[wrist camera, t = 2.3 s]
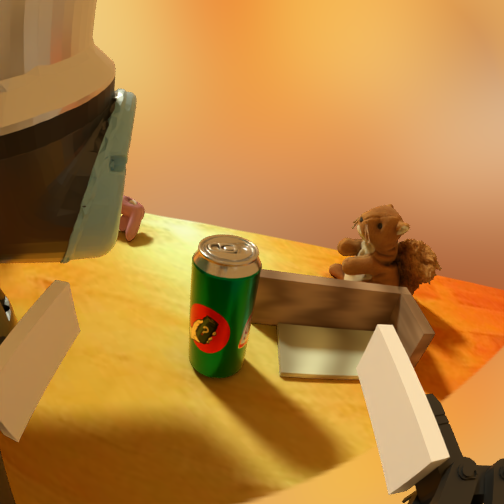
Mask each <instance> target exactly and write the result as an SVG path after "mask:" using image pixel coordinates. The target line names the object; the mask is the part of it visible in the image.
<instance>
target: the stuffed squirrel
mask: <svg viewBox="0 0 504 504" xmlns="http://www.w3.org/2000/svg"><path fill="white" fill-rule="evenodd" d="M357 220H358V221H357ZM356 221H357V222H356ZM355 222H356V223H355ZM353 223H355V224H354V226H355V225H356V224H357V223H358V226H357V230H358V233H359V234H360V236H361V237H362V239H351V238H344V239H343V240H341V241H340V242H339V243H338V246H337V249H338V252H339V253H340V254H341V255H343V256H354V257H348V258H346V259H345V260H343V263H342V265H341V264H333V265H331V266H330V268H329V272H330V274H332V275H333V276H334V277H336V278H337V279H341V280H349V281H357V282H366V283H374V284H382V285H391V286H399V287H407V289H408V290H409V292H410V293H411V295H413V294H414V291H415V290H416V289H417V288H419V284H422V283H427V282H428V283H429V284H430V281H431V280H433V278H434V276H436V274H435V270H436V269H439V270H441V268H440V265H439V264H438V262H437V258H436V255H435V253H434V252H433V251H432V250H431V248H430V247H429V246H428V245H426V244H424V242H423V241H416V240H415V239H413V240H412V239H406V240H405V241H402V242H399V243H398V239H399V238H400V237H401V235H403V234H404V233H406V232H407V231H408V230H409V228H410V227H409V224H407V223H404V222H403V220H402V218H401V216H400V215H399V214H398V213H397V212H396V210H395V209H394V208H393V205H391V204H389V205H384V206H379V207H376V208H373V209H371V210H369V211H367V212H365V213H363V214H362V215H361V216H360V217H358V218H357V219H356V220H355V221H354V222H353ZM354 226H353V227H352V229H353V228H354Z"/></svg>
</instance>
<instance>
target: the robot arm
mask: <svg viewBox="0 0 504 504" xmlns="http://www.w3.org/2000/svg"><path fill="white" fill-rule="evenodd" d="M96 2H97V0H0V263H36V262H60V263H67V262H69V261H70V260H75V259H85V258H95V257H101V256H103V255H105V254H107V253H108V252H109V251H110V250H111V249H112V248H113V247H114V245H115V243H116V240H117V237H118V232H119V225H120V218H121V209H122V201H123V192H124V184H125V175H126V163H127V159H128V152H129V147H130V141H131V135H132V129H133V123H134V116H135V109H136V96H135V95H134V94H133V93H131V92H126V91H125V90H124V89H118V90H116V91H114V84H115V64H114V62H113V61H112V60H111V59H110V58H109V57H108V56H107V55H106V54H105V53H104V52H102V51H101V50H100V49H99V48H98V47H97V46H96V45H95V44H94V42H93V38H92V36H93V26H94V17H95V9H96ZM79 332H80V328H79V325H78V321H77V316H76V312H75V308H74V304H73V299H72V294H71V289H70V284H69V283H68V282H63V281H59V280H55V281H54V282H53V283H52V284H51V285H50V286H49V287H48V289H47V290H46V291H45V292H44V293H43V294H42V295H41V296H40V298H39V299H38V300H37V301H36V302H35V303H34V304H33V306H32V307H31V308H30V309H29V310H28V311H27V313H26V314H25V315H24V316H23V317H22V319H21V320H20V321H19V322H17V319H16V316H15V314H14V311H13V308H12V306H11V304H10V302H9V300H8V298H7V297H6V296H5V294H4V293H3V292H2V290H1V289H0V431H1V432H2V433H3V434H4V435H6V436H7V437H9V438H11V439H13V440H15V441H16V442H19V440H20V438H21V436H22V434H23V432H24V430H25V428H26V426H27V424H28V422H29V420H30V418H31V416H32V414H33V412H34V410H35V408H36V406H37V404H38V402H39V400H40V399H41V397H42V395H43V393H44V391H45V389H46V388H47V386H48V384H49V382H50V380H51V379H52V377H53V375H54V373H55V372H56V370H57V368H58V367H59V365H60V363H61V362H62V360H63V358H64V356H65V355H66V353H67V352H68V350H69V348H70V347H71V345H72V343H73V342H74V340H75V339H76V337H77V335H78V334H79ZM356 370H357V373H358V377H359V380H360V384H361V387H362V390H363V394H364V397H365V401H366V405H367V408H368V412H369V416H370V419H371V423H372V427H373V431H374V434H375V438H376V442H377V446H378V450H379V454H380V458H381V462H382V467H383V471H384V475H385V480H386V484H387V489H388V494H395V493H399V492H404V491H407V490H408V489H410V488H411V487H412V486H414V485H415V486H416V491H415V492H413V493H412V494H410V495H409V496H407V497H406V498H404V500H403V501H402V502H403V503H405V502H406V501H408V500H409V499H410V500H409V503H408V504H483V503H484V504H504V459H500V460H499V461H497V462H496V463H495V464H493V465H492V466H481V465H476V463H475V462H474V461H473V460H471V459H470V458H467V457H463V456H462V453H461V451H460V449H459V446H458V443H457V441H456V438H455V436H454V433H453V431H452V429H451V426H450V424H448V423H449V421H448V419H447V417H446V416H445V412H444V410H443V407H442V405H441V403H440V402H439V401H438V400H437V398H436V397H435V396H434V395H433V394H425V393H424V391H423V388H422V386H421V384H420V381H419V379H418V377H417V375H416V373H415V370H414V368H413V366H412V364H411V362H410V360H409V357H408V355H407V353H406V351H405V349H404V347H403V345H402V343H401V341H400V339H399V337H398V335H397V333H396V331H395V329H394V327H393V325H383V324H377V326H376V329H375V331H374V333H373V335H372V337H371V339H370V341H369V343H368V346H367V348H366V350H365V352H364V354H363V356H362V358H361V360H360V362H359V364H358V366H357V367H356ZM0 504H16V503H15V500H14V497H13V494H12V491H11V488H10V485H9V482H8V478H7V475H6V471H5V468H4V464H3V460H2V456H1V451H0Z"/></svg>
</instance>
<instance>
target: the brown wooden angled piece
mask: <svg viewBox="0 0 504 504" xmlns="http://www.w3.org/2000/svg"><path fill="white" fill-rule="evenodd" d="M251 323H258V324H267V325H276V326H277V337H278V354H279V372H280V376H284V377H299V378H317V379H356V380H359V377H358V373H357V370H356V367H357V366H358V364H359V362H360V360H361V358H362V356H363V354H364V352H365V350H366V348H367V346H368V343H369V341H370V339H371V337H372V335H373V333H374V331H375V329H376V326H377V324H383V325H393V327H394V329H395V331H396V333H397V335H398V337H399V339H400V341H401V343H402V345H403V347H404V349H405V351H406V353H407V355H408V357H409V360H410V362H411V364H412V366H413V368H414V367H415V366H416V364H417V363H418V361H419V360H420V358H421V356H422V355H423V353H424V352H425V350H426V349H427V347H428V345H429V344H430V342H431V340H432V339H433V337H434V335H435V332H434V331H433V329H432V327H431V326H430V324H429V322H428V321H427V319H426V317H425V316H424V314H423V312H422V311H421V309H420V307H419V306H418V304H417V303H416V301H415V300H414V298H413V296H412V295H411V293H410V292H409V290H408V289H407V287H399V286H391V285H382V284H374V283H366V282H357V281H349V280H341V279H333V278H325V277H318V276H310V275H302V274H294V273H287V272H279V271H272V270H264V269H261V274H260V279H259V285H258V290H257V295H256V300H255V305H254V311H253V316H252V321H251Z"/></svg>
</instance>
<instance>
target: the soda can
mask: <svg viewBox="0 0 504 504" xmlns="http://www.w3.org/2000/svg"><path fill="white" fill-rule="evenodd" d="M258 256H259V250H258V248H257V246H256V245H255V244H254V243H252V242H251V241H249V240H247V239H244V238H242V237H238V236H233V235H213V236H209V237H206V238H204V239H203V240H201V241H200V243H199V245H198V250H197V251H196V252H195V253H194V255H193V257H192V274H191V295H190V324H189V361H190V363H191V365H192V366H193V368H194V369H195V370H196V371H198V372H199V373H201V374H202V375H205V376H207V377H211V378H225V377H229V376H231V375H233V374H235V373H237V372H238V371H239V370H240V369H241V367H242V365H243V362H244V357H245V352H246V347H247V341H248V336H249V331H250V326H251V321H252V316H253V311H254V305H255V300H256V295H257V290H258V285H259V279H260V274H261V269H262V264H261V261H260V259H259V257H258Z"/></svg>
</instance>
